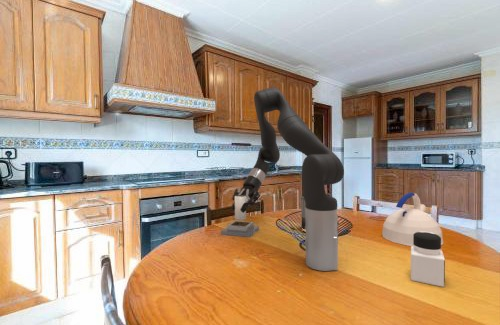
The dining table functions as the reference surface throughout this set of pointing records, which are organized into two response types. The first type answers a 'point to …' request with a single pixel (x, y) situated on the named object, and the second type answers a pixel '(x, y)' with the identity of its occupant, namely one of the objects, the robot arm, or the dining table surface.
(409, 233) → the kettle
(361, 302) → the dining table surface
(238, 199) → the pale grey canister
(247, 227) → the hub plate
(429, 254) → the medicine bottle
